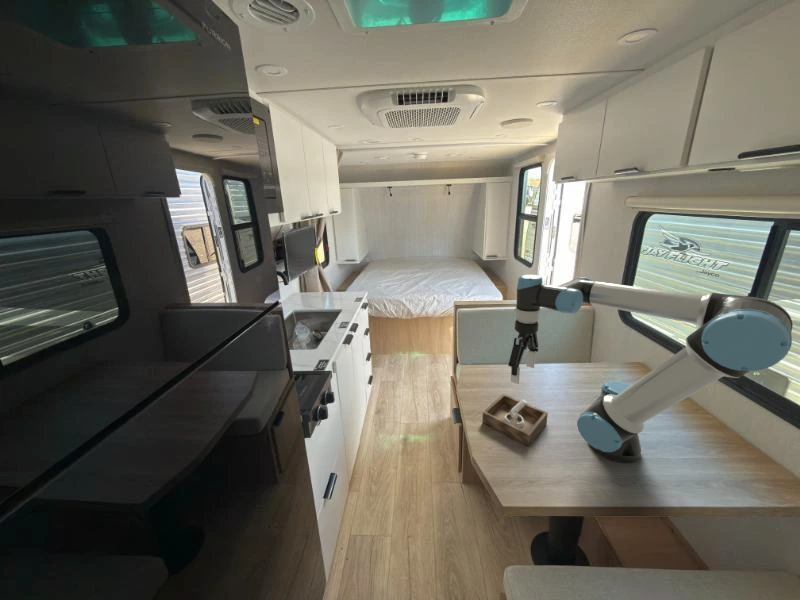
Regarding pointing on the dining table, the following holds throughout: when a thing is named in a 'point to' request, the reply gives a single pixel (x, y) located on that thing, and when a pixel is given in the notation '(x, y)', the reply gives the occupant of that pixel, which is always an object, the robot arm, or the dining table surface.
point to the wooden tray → (530, 414)
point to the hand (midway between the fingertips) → (522, 374)
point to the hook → (514, 414)
